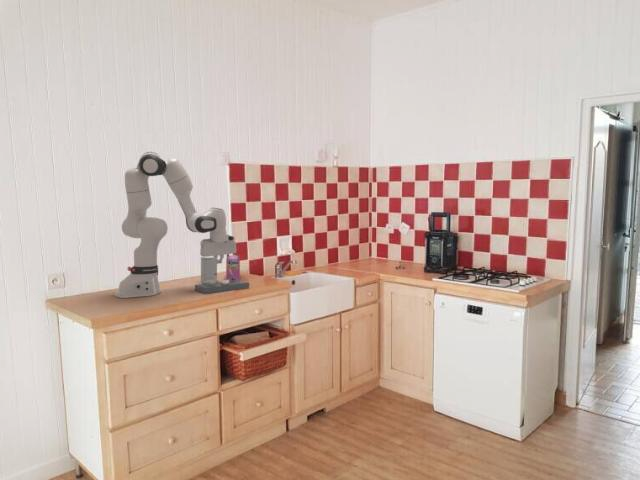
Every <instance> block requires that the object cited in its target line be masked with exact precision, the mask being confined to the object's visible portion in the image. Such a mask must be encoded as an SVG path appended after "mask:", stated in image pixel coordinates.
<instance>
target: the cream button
mask: <svg viewBox="0 0 640 480" xmlns="http://www.w3.org/2000/svg"><path fill="white" fill-rule="evenodd" d="M220 282H221V284H222V285H227V284H229V280H226V279H221V280H220Z"/></svg>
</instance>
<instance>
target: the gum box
mask: <svg viewBox="0 0 640 480" xmlns="http://www.w3.org/2000/svg"><path fill="white" fill-rule="evenodd" d="M240 263H241V262H240V253H237V254H235V255H234V254H226V263H225V264H226V265H225V266H226V267H225V268H226V273H225V274H226V279H225V280H229V281H230V280H231V274H230V272H229V269H228V268H227V265H228V264H230V265H231V268H230V269H231V272H232V275H233V277H234V278H235V280H241V279H240V277H241V275H240V274H241V268H240V267H241V265H240Z"/></svg>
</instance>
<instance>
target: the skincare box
mask: <svg viewBox="0 0 640 480" xmlns="http://www.w3.org/2000/svg"><path fill="white" fill-rule="evenodd" d="M207 280H216V282H218V264H216V260H215V259H214V256H207V257H203V256H200V282H201V284H206V283H207Z"/></svg>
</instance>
